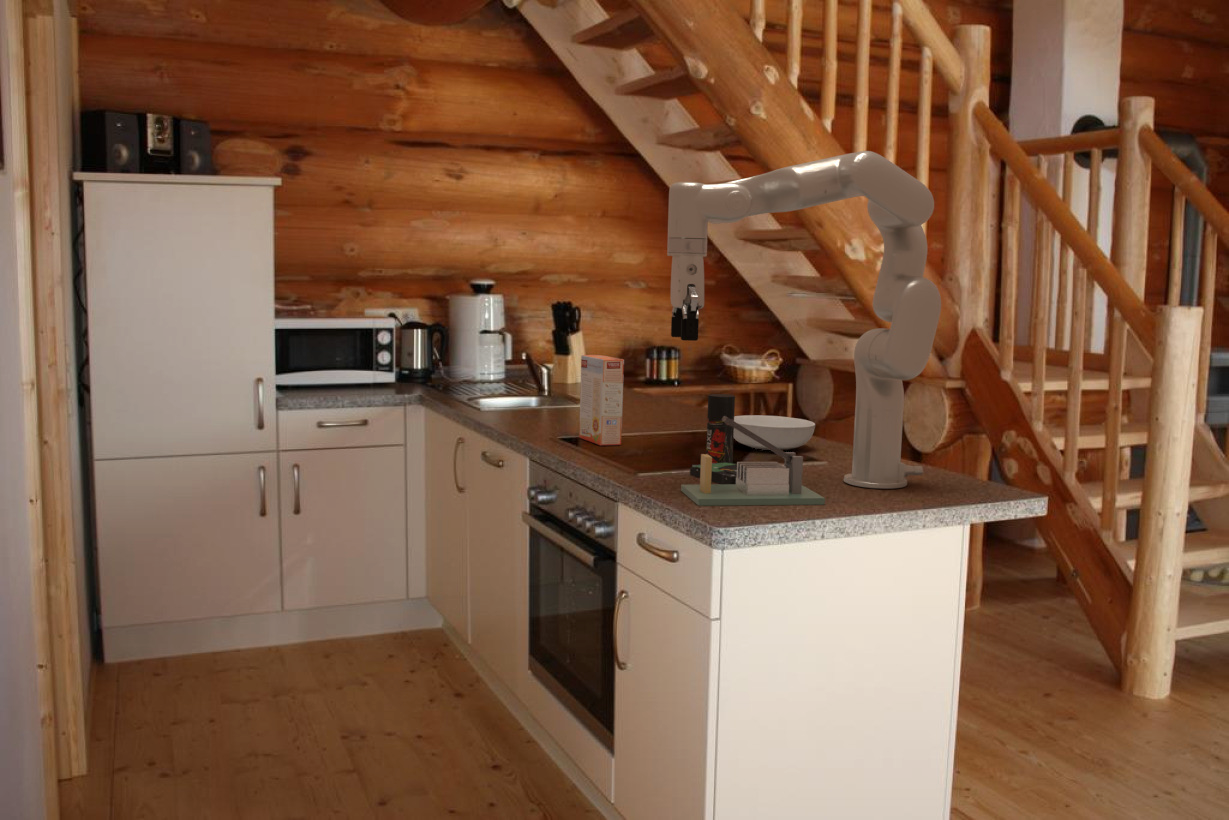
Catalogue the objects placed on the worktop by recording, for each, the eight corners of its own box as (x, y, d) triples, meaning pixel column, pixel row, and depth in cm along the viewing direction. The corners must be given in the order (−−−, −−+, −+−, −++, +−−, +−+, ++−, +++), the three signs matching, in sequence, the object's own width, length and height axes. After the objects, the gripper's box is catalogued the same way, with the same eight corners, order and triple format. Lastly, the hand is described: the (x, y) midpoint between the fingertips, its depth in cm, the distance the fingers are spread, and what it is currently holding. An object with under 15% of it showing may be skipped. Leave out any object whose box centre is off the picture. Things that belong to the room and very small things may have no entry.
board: (800, 489, 230) (802, 448, 229) (824, 504, 216) (826, 460, 215) (681, 490, 226) (682, 448, 225) (698, 505, 212) (699, 461, 211)
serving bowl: (804, 458, 269) (806, 428, 268) (716, 451, 276) (718, 422, 275) (821, 446, 289) (822, 418, 288) (738, 439, 296) (739, 412, 295)
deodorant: (737, 462, 260) (740, 395, 258) (721, 465, 256) (724, 397, 254) (716, 459, 264) (719, 393, 262) (700, 462, 260) (702, 394, 258)
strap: (792, 466, 223) (797, 457, 223) (797, 468, 220) (802, 460, 220) (719, 421, 219) (724, 413, 219) (723, 423, 217) (728, 415, 217)
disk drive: (772, 486, 236) (728, 473, 249) (773, 473, 236) (728, 460, 248) (731, 490, 231) (688, 477, 243) (731, 476, 231) (688, 463, 243)
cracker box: (622, 445, 280) (625, 358, 278) (599, 446, 278) (601, 358, 275) (600, 437, 293) (602, 353, 290) (578, 438, 291) (580, 354, 288)
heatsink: (775, 487, 226) (776, 461, 225) (788, 495, 218) (789, 468, 217) (735, 487, 224) (736, 461, 224) (747, 495, 217) (748, 468, 216)
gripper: (716, 248, 214) (713, 342, 216) (696, 249, 231) (694, 336, 233) (676, 247, 213) (673, 341, 215) (659, 248, 230) (656, 335, 232)
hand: (684, 338), depth 224 cm, fingers open, 9 cm apart
